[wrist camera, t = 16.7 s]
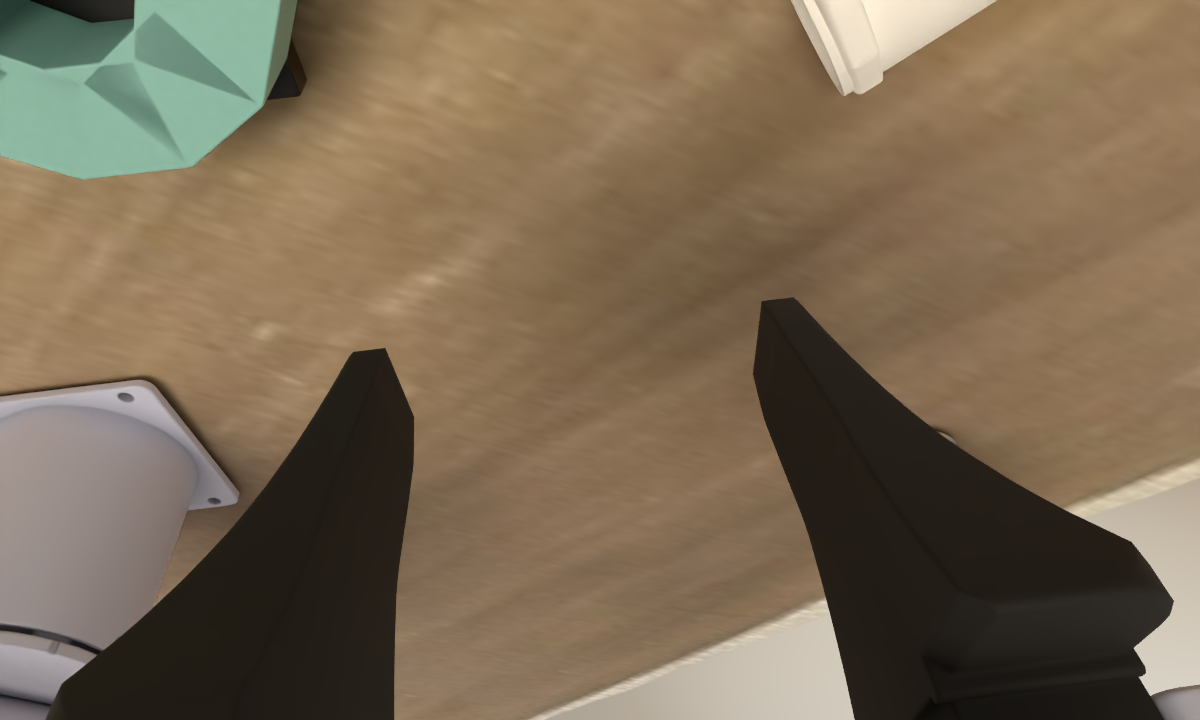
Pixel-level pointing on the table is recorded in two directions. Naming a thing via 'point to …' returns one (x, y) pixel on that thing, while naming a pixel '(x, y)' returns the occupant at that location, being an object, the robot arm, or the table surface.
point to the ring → (135, 82)
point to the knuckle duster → (876, 33)
